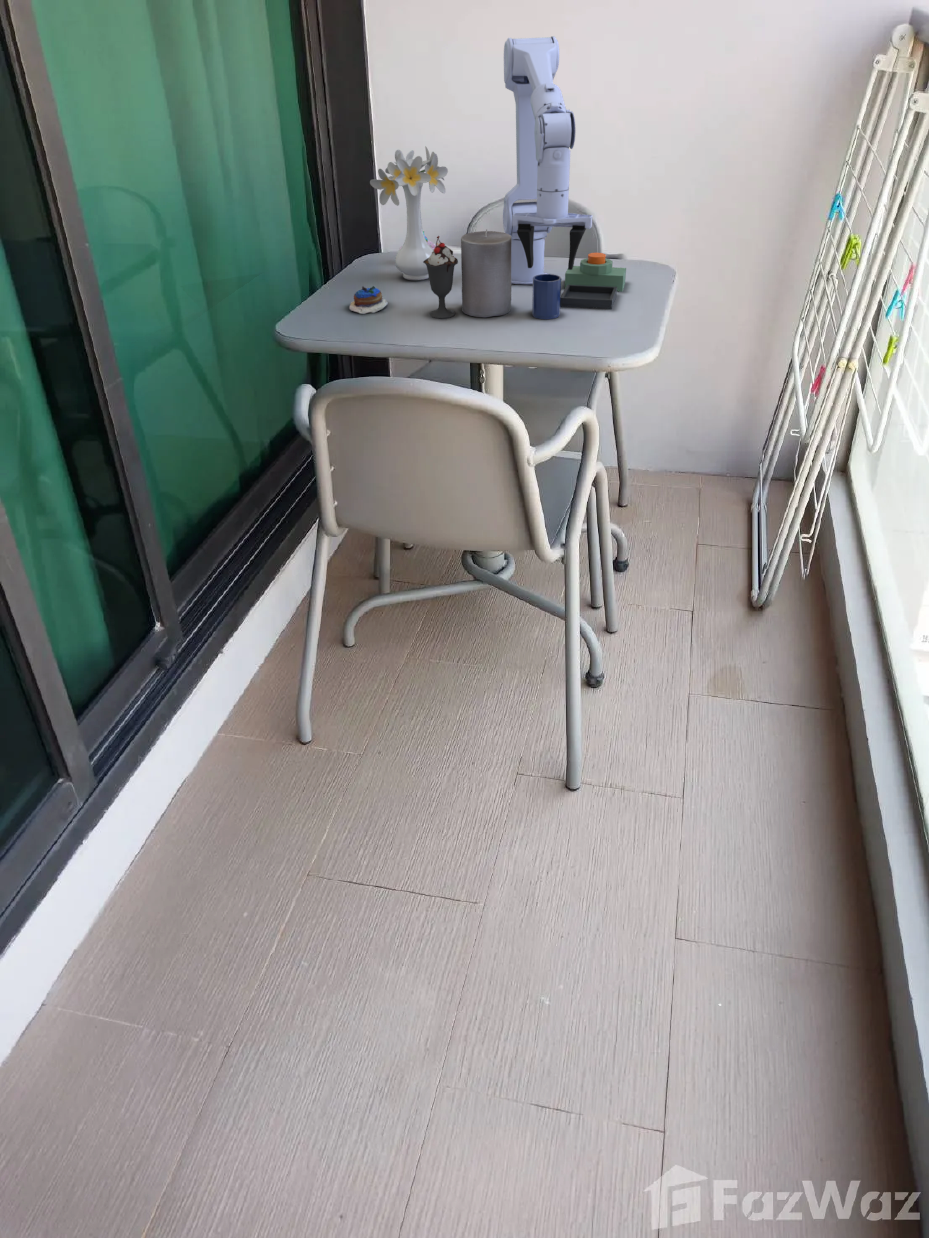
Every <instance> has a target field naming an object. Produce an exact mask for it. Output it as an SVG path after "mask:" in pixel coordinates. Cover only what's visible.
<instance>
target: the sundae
mask: <svg viewBox="0 0 929 1238" xmlns="http://www.w3.org/2000/svg"><path fill="white" fill-rule="evenodd" d="M437 243H438V246H437ZM435 244H436V247H435V248H434V250H433V252H432V254H431V256H430V257H429V258H427V259H426V260H425V261H423V263H425V264H426V266H427V270H428V275H429V278H428V283H429V285H430V290H431V291H432V293H433V294H435V295H436V296H437V298H438V307H437V309H436V310H433V311H431V312H430V313H429V316H430V318H431V317H432V318H435V319H449V318H452V317H454V316H455V315H456V312H455V311H453V310H451V309H447V306H446V296H448V295H449V294H450V293H451V291H452V290H453V283H454V271H455V267H456V266H457V265H458V263H459V259H458V258H457V257H455V256H454V251H453V250H452V249H451V248H449V247H448V246H447V245H446V243H445V242H441V240H440V236H439V235H438V236H437V237H436V243H435Z"/></svg>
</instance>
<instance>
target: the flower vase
mask: <svg viewBox="0 0 929 1238" xmlns="http://www.w3.org/2000/svg"><path fill="white" fill-rule="evenodd" d="M424 148H425V155H426V160H423V157H422V156H421V155H417V156H415V150H410V151H409V152H408V153H407V154H406V156H405V155H404V153H403V151H402V150H400V149H396V150H395V152H394V160H395V161H393V162H392V161H390V162H388V163H387V167H386V168H385V169H384V170H385V171H384V170H383V169H382V168H378V169H377V173H378V177H379V179H375V178H374V179H370V181H369V184H370V186H371V187H372V188H373V189H375V190H378V191H379V190H380V191H381V192H380V194H379V204H380V205H381V206H385V205H387V203H388V201H389V199H390V200H391V202H392V203H393V204H394V205H395V206H397V207H398V206H400V200H399V196H398V194H397V190H398V189H399V187H402V189H403V193H404V198H405V204H406V234H405V239H404V242H403V245H402V246H400V247H401V249H400V248H399V249H400V250H399V249H398V251H397V253H396V255H395V258H394V259H395V260H394V264H395V266H396V268H397V269H398V270H399V272H400V273H402V277H403V278H404V279H405V280H408V281H424V280H427V279H428V280H429V275H428V270H427V266H426V264H425V263H423V261H425V260H426V259H427V258H429V257H430V256H431V254H432V252H433V249H432V248H431V247H430V246H429V245H428V243H427V241H426V239H425V237H424V235H425V233H424V234H423V231H424V230H423V222H422V220H423V219H422V209H421V198H422V197H421V196H422V190H423V189H422V188H423V186H424V184H426V183H427V184H428V188H429V192H430V193H434V192H435V189H436V188H437V189H438V191H439V192H440V193H442V194H445V193H446V187H445V184H444V183H443V181H445V177H446V176H447V175H448V172H449V169H448V168H447V167H446V166H439V158H438V155H437V153H435V152H434V151H431V154H430V151H429V149H428V147H427V146H426V145H425V147H424ZM414 156H415V157H414ZM423 168H424V169H423ZM421 169H422V170H421ZM388 175H390V176H388Z"/></svg>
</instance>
